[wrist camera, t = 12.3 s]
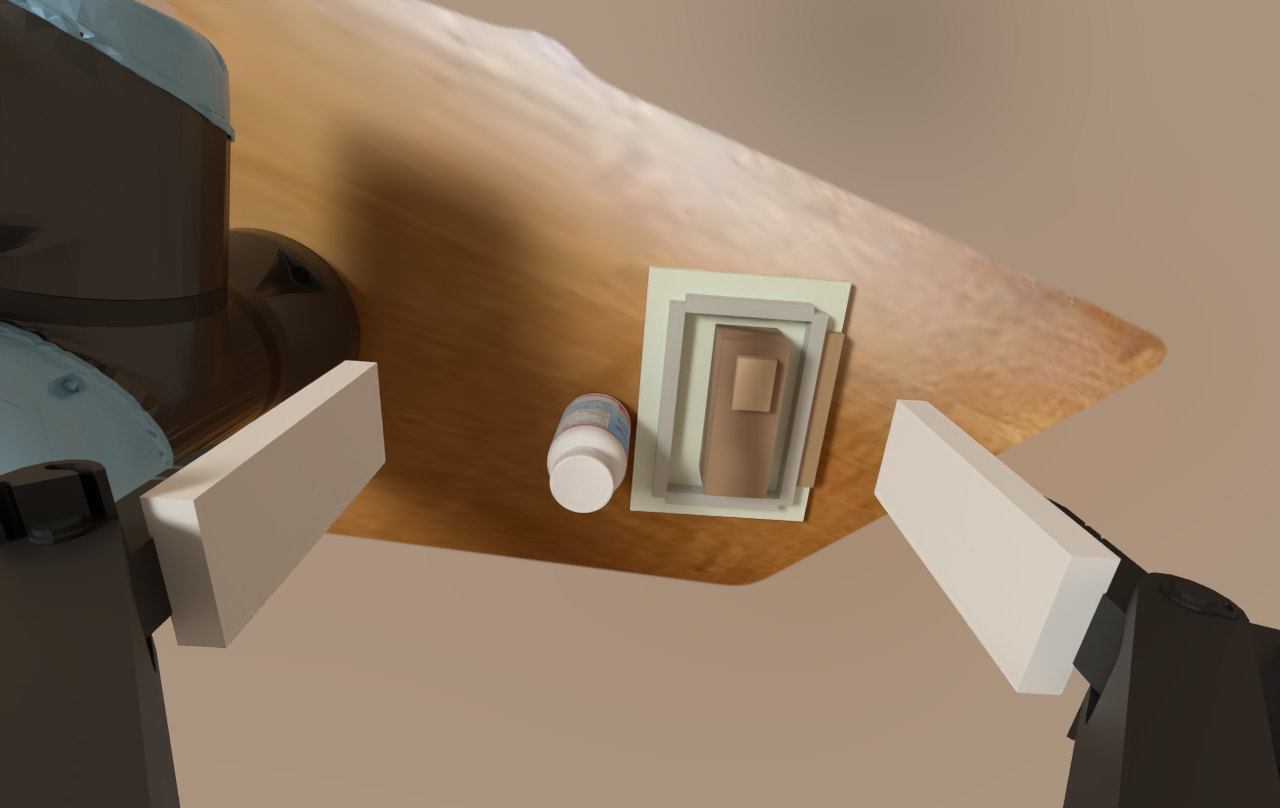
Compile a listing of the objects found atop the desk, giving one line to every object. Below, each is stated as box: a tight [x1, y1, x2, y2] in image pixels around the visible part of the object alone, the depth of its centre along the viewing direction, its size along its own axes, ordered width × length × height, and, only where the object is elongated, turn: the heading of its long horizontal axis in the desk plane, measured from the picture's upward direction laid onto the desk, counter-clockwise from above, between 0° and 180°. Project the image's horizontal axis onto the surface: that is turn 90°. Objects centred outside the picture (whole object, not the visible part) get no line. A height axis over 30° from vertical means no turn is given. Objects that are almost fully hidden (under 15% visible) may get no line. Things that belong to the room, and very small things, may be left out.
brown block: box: [699, 324, 791, 499], centre depth 48 cm, size 5×13×6 cm, turn 176°
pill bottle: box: [547, 393, 631, 513], centre depth 48 cm, size 6×6×11 cm
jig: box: [630, 265, 851, 521], centre depth 51 cm, size 16×22×2 cm
